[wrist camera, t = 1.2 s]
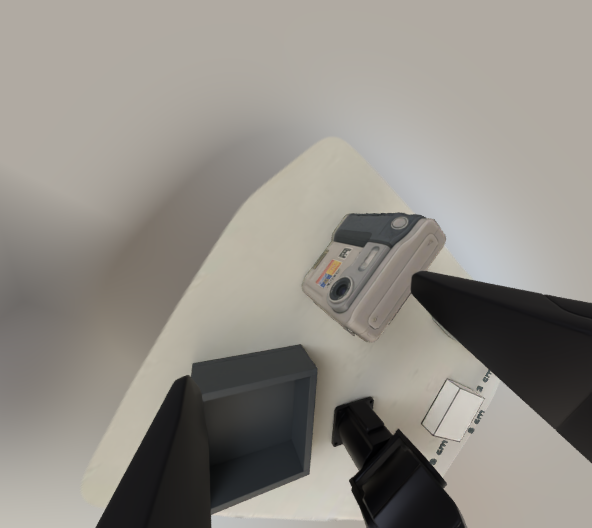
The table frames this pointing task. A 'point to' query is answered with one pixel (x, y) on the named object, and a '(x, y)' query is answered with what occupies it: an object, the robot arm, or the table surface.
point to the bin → (257, 421)
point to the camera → (372, 268)
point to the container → (453, 412)
